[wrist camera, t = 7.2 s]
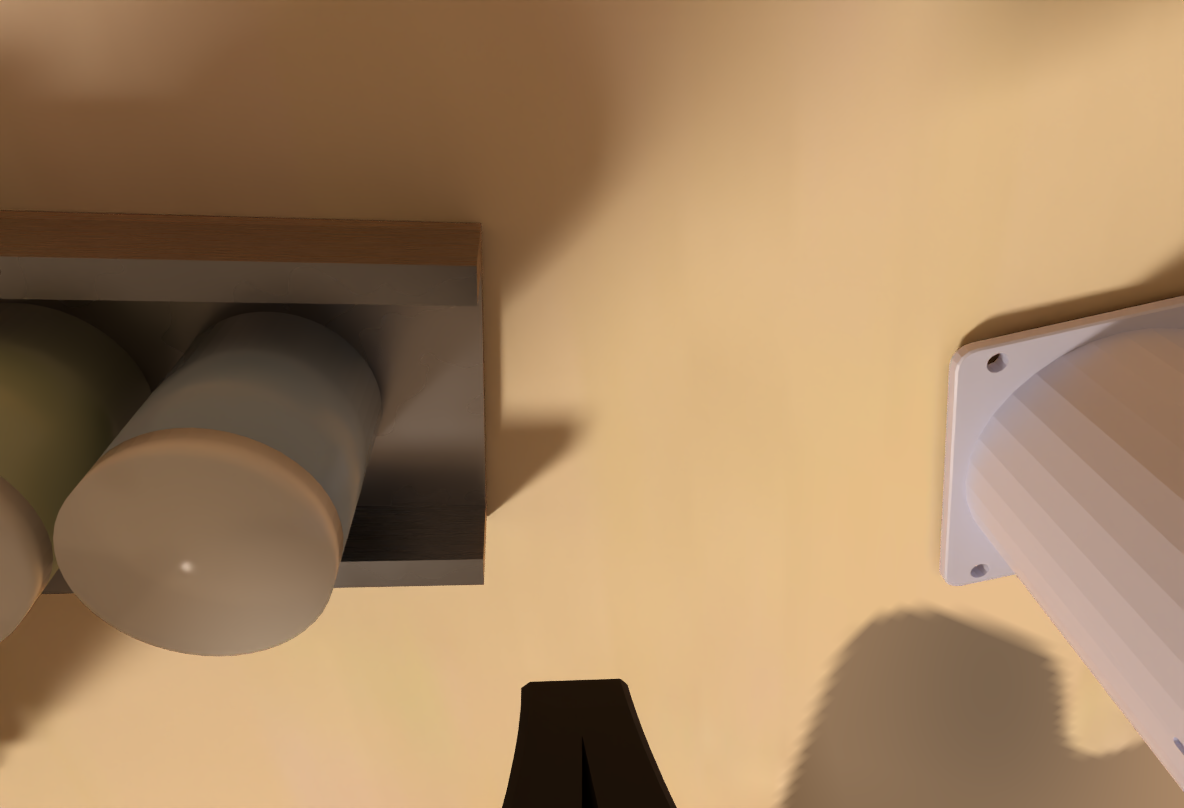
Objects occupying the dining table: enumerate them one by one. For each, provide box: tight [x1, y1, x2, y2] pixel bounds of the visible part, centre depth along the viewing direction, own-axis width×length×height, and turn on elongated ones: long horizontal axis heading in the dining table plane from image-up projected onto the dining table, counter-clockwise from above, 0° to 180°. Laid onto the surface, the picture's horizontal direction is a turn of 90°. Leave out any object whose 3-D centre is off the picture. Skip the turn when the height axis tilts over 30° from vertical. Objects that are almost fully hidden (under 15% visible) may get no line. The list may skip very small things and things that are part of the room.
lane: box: [0, 211, 487, 594], centre depth 16 cm, size 18×8×4 cm, turn 86°
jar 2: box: [53, 312, 382, 656], centre depth 15 cm, size 4×4×5 cm
